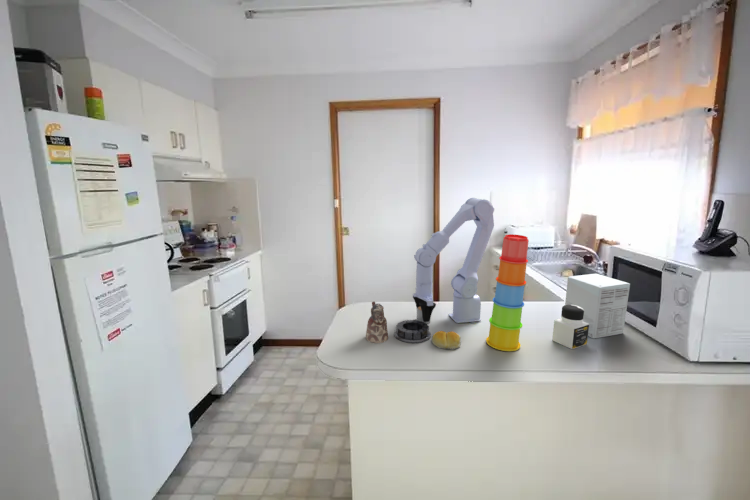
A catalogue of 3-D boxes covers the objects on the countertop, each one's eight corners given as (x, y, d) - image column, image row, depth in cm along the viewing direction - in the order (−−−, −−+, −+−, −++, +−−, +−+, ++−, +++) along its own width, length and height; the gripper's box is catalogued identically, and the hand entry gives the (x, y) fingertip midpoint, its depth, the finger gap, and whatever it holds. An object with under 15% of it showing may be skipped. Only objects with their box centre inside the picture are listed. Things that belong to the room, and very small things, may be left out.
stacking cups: (505, 335, 123) (513, 231, 115) (527, 348, 113) (537, 237, 106) (479, 339, 119) (485, 233, 112) (499, 354, 110) (507, 239, 103)
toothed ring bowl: (424, 326, 130) (424, 318, 129) (435, 341, 118) (435, 332, 118) (390, 329, 128) (390, 320, 127) (399, 344, 116) (399, 335, 116)
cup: (427, 318, 137) (428, 305, 136) (432, 324, 132) (432, 309, 131) (414, 319, 136) (415, 306, 135) (418, 325, 131) (419, 311, 130)
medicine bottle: (572, 349, 112) (576, 312, 110) (551, 340, 118) (555, 305, 116) (587, 344, 115) (591, 308, 113) (566, 336, 122) (570, 301, 119)
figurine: (370, 344, 117) (370, 308, 114) (363, 335, 123) (362, 301, 121) (391, 340, 119) (391, 305, 117) (382, 332, 126) (382, 298, 123)
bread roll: (433, 337, 122) (433, 326, 121) (460, 340, 120) (461, 328, 119) (430, 348, 114) (430, 336, 113) (460, 352, 112) (460, 339, 111)
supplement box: (624, 333, 123) (631, 283, 119) (593, 339, 119) (600, 287, 115) (590, 319, 135) (596, 272, 132) (561, 323, 132) (566, 276, 128)
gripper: (407, 276, 137) (407, 311, 140) (419, 288, 123) (418, 326, 126) (426, 275, 138) (425, 310, 141) (439, 287, 124) (438, 325, 127)
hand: (423, 318), depth 134 cm, fingers open, 6 cm apart
